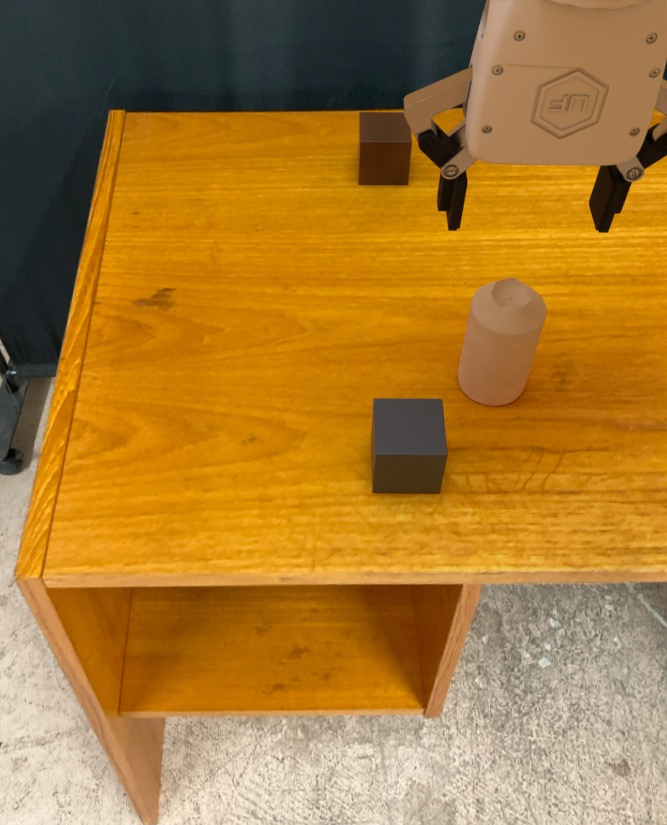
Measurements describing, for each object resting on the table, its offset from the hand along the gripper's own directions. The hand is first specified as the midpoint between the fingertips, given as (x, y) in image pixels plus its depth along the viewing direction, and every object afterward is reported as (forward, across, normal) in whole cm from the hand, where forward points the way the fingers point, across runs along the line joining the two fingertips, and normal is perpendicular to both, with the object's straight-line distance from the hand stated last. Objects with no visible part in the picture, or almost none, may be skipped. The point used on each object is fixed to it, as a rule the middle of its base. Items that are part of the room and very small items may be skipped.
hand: (524, 217), depth 54 cm
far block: (+17, -8, +28) cm, 33 cm away
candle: (+17, 0, 0) cm, 17 cm away
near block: (+16, -7, -9) cm, 20 cm away
